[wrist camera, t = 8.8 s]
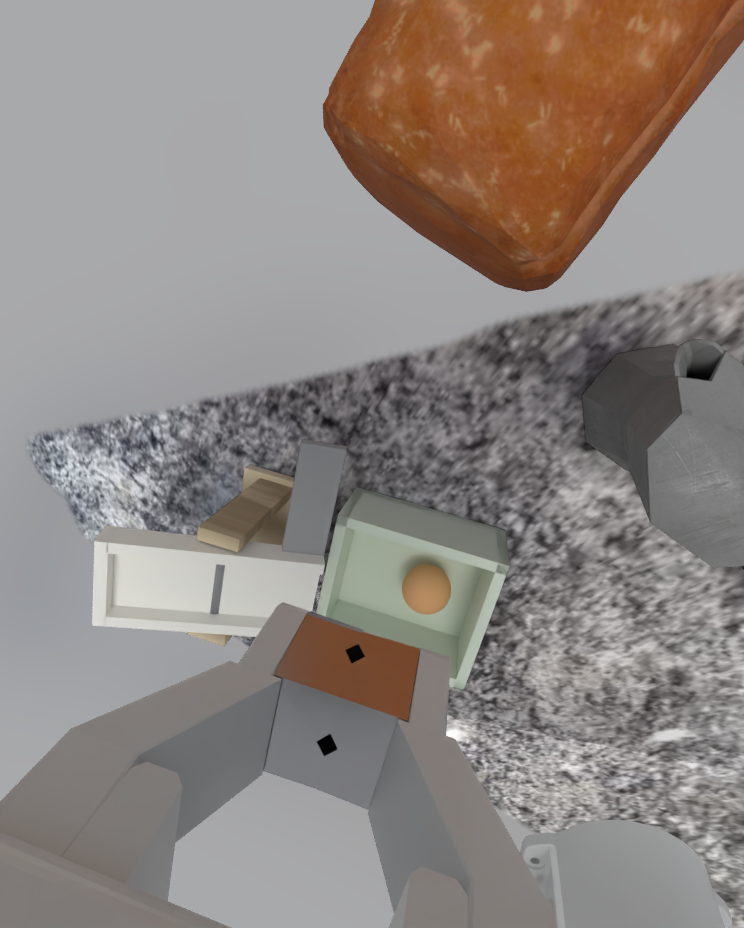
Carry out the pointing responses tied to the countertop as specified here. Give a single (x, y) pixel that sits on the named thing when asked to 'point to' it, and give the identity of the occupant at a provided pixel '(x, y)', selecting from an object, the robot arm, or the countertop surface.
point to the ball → (426, 589)
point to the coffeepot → (678, 440)
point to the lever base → (249, 519)
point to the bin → (394, 554)
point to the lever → (220, 565)
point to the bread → (519, 116)
